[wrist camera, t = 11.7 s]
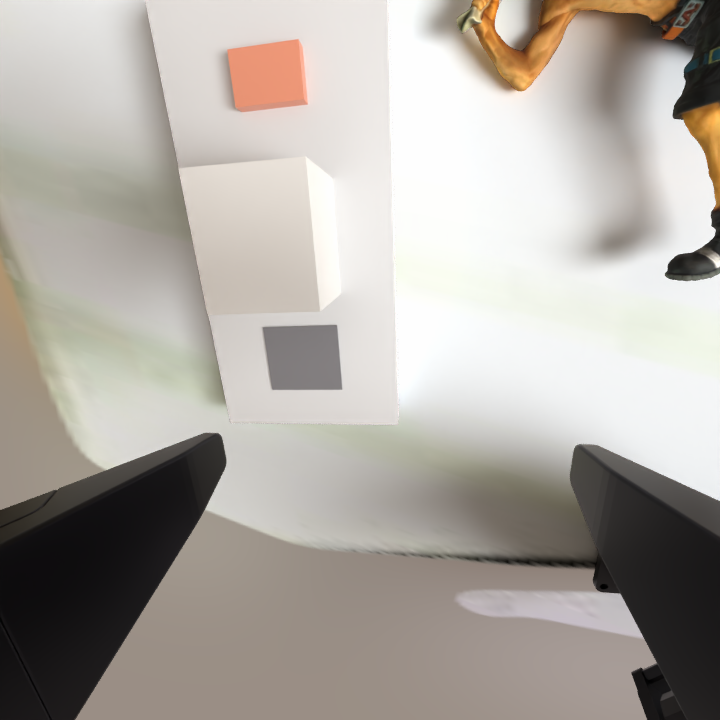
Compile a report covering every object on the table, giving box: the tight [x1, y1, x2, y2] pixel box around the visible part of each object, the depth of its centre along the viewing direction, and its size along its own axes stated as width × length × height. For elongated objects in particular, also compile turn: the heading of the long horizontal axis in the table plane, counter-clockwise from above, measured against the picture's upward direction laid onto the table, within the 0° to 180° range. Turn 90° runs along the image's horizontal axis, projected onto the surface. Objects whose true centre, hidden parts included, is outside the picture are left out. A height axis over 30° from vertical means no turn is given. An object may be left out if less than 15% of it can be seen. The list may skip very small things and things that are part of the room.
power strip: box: [145, 0, 399, 425], centre depth 18 cm, size 20×10×3 cm, turn 3°
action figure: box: [456, 0, 720, 281], centre depth 12 cm, size 6×15×15 cm
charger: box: [178, 156, 341, 315], centre depth 16 cm, size 5×5×6 cm
